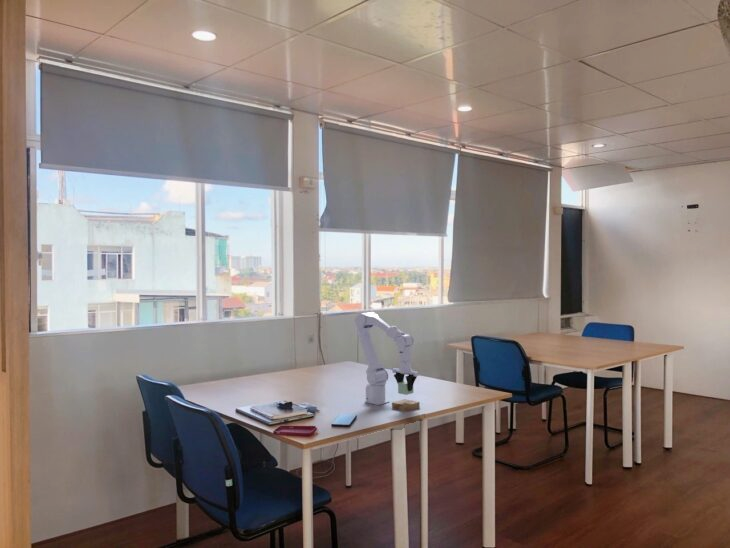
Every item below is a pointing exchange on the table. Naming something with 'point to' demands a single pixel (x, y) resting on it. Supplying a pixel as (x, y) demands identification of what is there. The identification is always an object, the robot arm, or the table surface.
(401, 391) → the green cube
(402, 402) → the walnut block
